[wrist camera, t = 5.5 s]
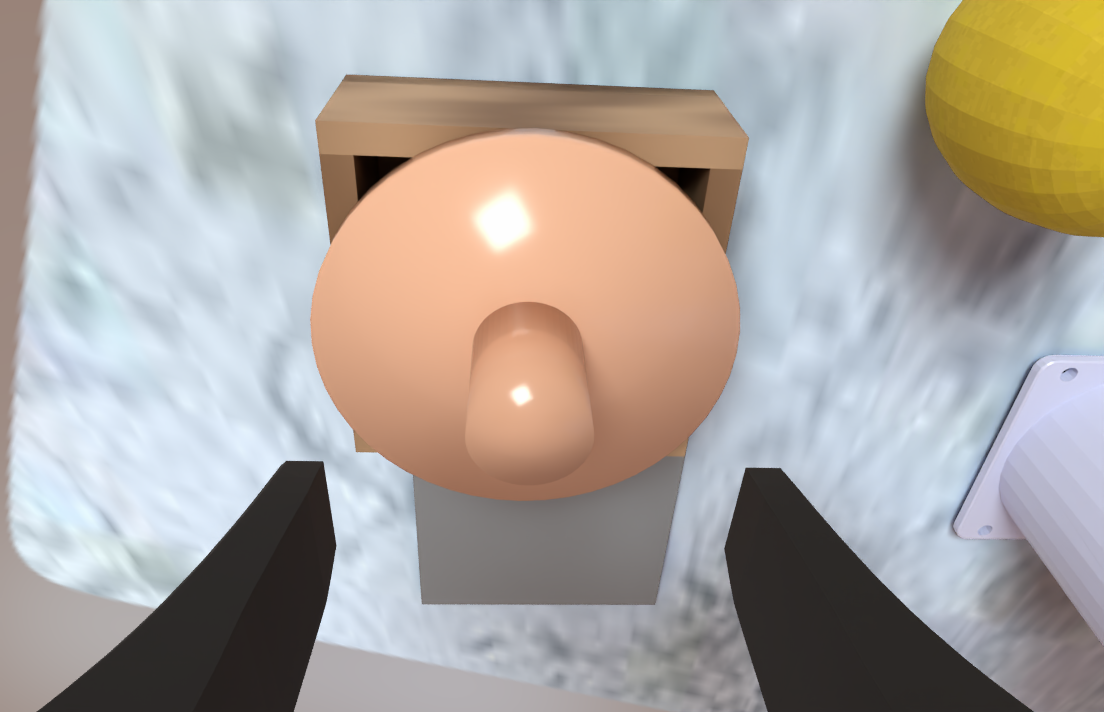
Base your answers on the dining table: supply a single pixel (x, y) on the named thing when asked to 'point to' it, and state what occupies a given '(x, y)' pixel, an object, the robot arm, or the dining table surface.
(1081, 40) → the lemon
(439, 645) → the dining table surface
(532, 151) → the lid
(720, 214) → the wooden open tray
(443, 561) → the mat
